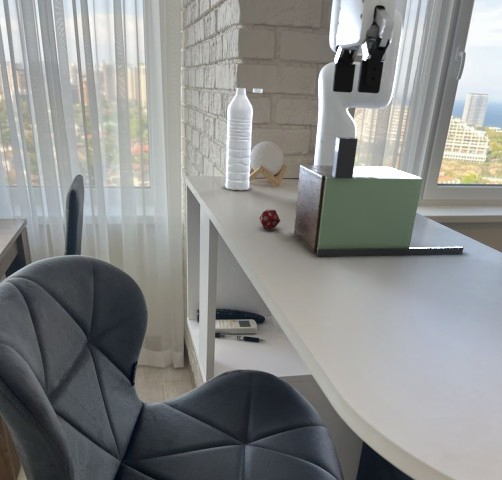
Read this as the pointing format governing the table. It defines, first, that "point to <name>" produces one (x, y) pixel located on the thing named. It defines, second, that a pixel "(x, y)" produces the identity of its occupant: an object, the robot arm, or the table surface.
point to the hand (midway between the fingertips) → (354, 92)
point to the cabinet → (312, 206)
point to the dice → (269, 219)
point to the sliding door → (365, 206)
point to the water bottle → (239, 141)
